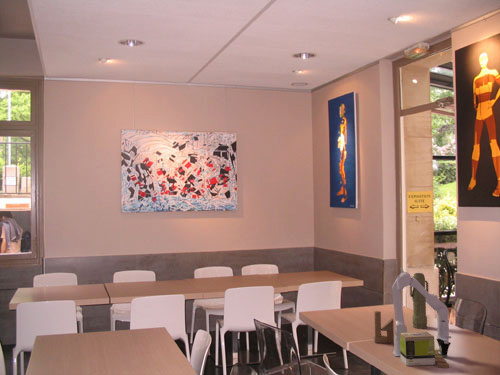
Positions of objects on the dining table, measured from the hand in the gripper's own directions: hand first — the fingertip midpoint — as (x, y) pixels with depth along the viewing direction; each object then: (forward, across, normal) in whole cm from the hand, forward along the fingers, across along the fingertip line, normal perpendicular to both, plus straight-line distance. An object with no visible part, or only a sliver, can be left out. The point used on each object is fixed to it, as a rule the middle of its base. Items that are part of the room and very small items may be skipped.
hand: (443, 353), depth 294 cm
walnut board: (+2, -7, +4) cm, 8 cm away
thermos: (+2, +67, -1) cm, 67 cm away
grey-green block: (+2, 0, +2) cm, 3 cm away
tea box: (+2, -12, +16) cm, 20 cm away
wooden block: (+2, +28, +27) cm, 39 cm away
